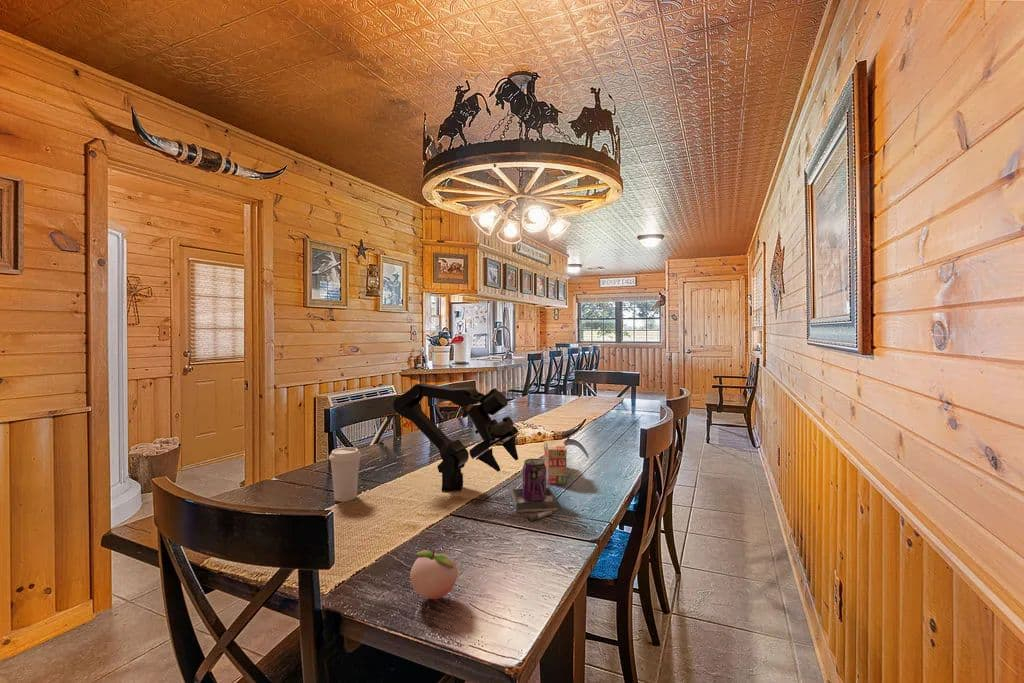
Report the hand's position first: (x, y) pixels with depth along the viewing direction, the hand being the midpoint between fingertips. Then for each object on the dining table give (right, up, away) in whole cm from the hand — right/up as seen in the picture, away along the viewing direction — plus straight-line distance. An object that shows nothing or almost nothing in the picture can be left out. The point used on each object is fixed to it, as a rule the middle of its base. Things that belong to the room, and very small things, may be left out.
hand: (508, 465), depth 148 cm
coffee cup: (-51, -11, 0) cm, 52 cm away
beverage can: (+8, -10, -3) cm, 13 cm away
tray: (+8, -11, -4) cm, 14 cm away
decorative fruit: (-14, -12, -55) cm, 58 cm away
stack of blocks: (+17, -10, +24) cm, 31 cm away
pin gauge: (+9, -11, -15) cm, 20 cm away
